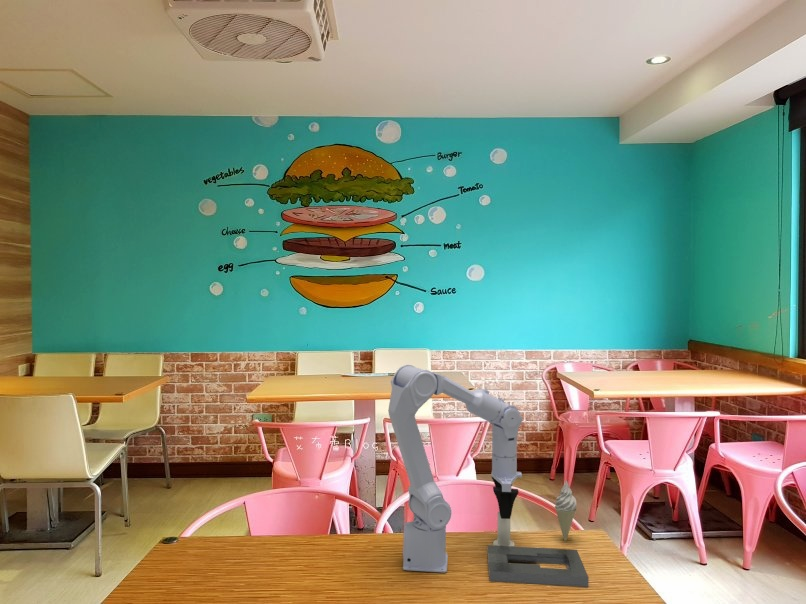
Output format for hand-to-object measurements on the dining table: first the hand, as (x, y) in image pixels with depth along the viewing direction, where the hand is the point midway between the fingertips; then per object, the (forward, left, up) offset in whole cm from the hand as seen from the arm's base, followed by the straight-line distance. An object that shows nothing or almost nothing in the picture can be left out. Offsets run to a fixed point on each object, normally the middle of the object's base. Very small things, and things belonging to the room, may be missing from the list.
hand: (504, 511), depth 131 cm
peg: (0, 0, -9) cm, 9 cm away
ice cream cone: (+15, +5, -9) cm, 18 cm away
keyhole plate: (+6, -10, -9) cm, 14 cm away
